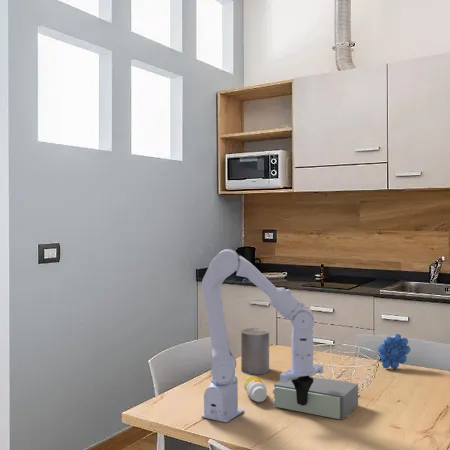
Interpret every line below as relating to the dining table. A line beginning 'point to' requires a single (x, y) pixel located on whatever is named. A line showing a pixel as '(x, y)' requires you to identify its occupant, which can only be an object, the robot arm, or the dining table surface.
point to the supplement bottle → (255, 388)
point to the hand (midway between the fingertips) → (302, 404)
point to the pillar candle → (255, 351)
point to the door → (315, 402)
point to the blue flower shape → (393, 351)
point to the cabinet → (332, 392)
